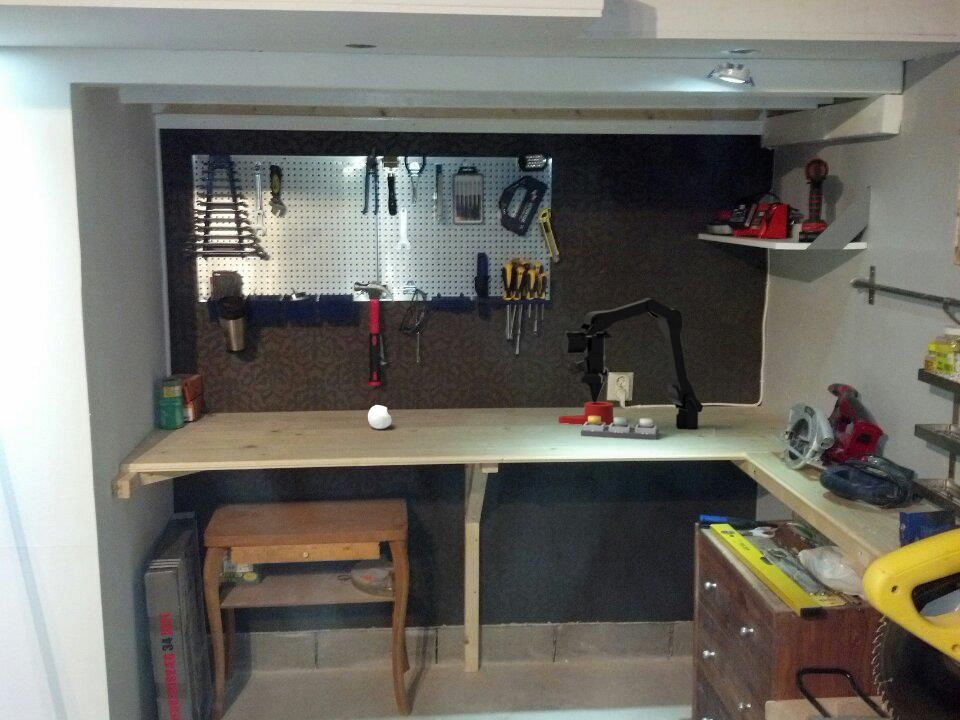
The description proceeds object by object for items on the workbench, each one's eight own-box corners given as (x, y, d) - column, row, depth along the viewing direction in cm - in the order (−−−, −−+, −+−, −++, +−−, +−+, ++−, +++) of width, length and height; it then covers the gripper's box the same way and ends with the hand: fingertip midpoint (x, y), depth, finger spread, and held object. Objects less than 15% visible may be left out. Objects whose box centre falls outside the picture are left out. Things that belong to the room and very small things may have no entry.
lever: (610, 420, 315) (611, 401, 314) (614, 426, 305) (615, 406, 305) (557, 420, 315) (557, 401, 314) (559, 426, 305) (559, 406, 305)
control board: (658, 433, 293) (658, 424, 292) (656, 439, 284) (656, 430, 284) (585, 429, 299) (585, 420, 298) (580, 435, 290) (581, 426, 289)
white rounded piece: (392, 431, 298) (392, 407, 297) (368, 431, 296) (368, 407, 295) (390, 426, 305) (390, 402, 304) (367, 426, 304) (367, 403, 303)
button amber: (601, 422, 294) (601, 415, 294) (599, 424, 291) (599, 418, 290) (589, 421, 295) (589, 415, 295) (587, 423, 292) (587, 417, 291)
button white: (653, 424, 290) (653, 418, 290) (651, 427, 286) (652, 420, 286) (640, 424, 291) (640, 417, 291) (638, 426, 287) (638, 420, 287)
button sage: (627, 423, 292) (627, 417, 292) (625, 425, 288) (625, 419, 288) (614, 422, 293) (614, 416, 293) (612, 425, 289) (612, 418, 289)
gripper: (574, 348, 301) (574, 396, 303) (564, 355, 283) (564, 406, 285) (609, 349, 298) (608, 397, 300) (601, 356, 280) (600, 407, 282)
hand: (594, 402), depth 292 cm, fingers closed
